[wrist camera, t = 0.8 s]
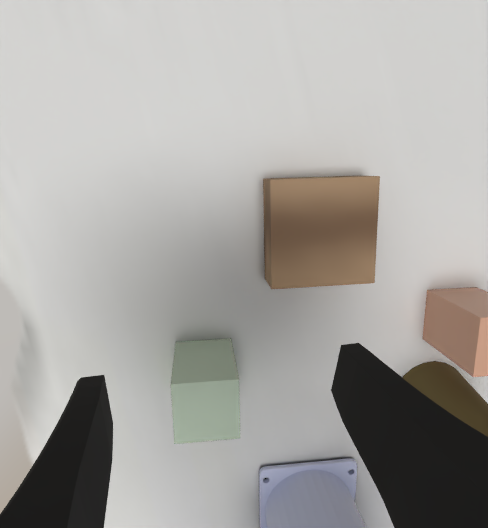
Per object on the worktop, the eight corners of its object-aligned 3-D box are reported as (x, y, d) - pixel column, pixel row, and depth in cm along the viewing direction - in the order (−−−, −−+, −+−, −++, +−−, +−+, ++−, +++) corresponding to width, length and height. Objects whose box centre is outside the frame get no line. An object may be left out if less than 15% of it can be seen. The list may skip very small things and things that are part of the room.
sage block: (231, 387, 31) (240, 438, 25) (178, 391, 30) (174, 444, 24) (230, 338, 30) (238, 379, 24) (175, 341, 29) (170, 384, 24)
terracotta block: (470, 335, 32) (530, 372, 26) (422, 338, 32) (473, 376, 26) (476, 287, 31) (540, 314, 25) (427, 289, 31) (480, 317, 25)
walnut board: (357, 271, 30) (374, 282, 27) (264, 277, 29) (271, 289, 26) (360, 175, 28) (379, 176, 26) (262, 178, 28) (270, 179, 25)
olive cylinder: (413, 352, 32) (523, 444, 21) (476, 373, 33) (610, 471, 22) (381, 417, 33) (469, 537, 22) (443, 436, 34) (556, 558, 23)
